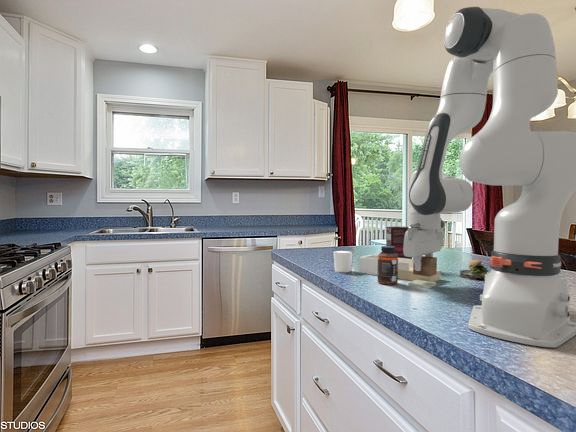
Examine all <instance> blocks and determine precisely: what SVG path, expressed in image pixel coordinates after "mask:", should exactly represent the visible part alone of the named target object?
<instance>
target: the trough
mask: <svg viewBox="0 0 576 432" xmlns="http://www.w3.org/2000/svg"><path fill="white" fill-rule="evenodd" d="M358 260H359V261H358V269H359V270H358V273H359V274H365V273H366V274H367V275H373V276H378V254H369V255H368V254H367V255H362V256H359V259H358ZM441 271H442V270H440V269H437V274H436V275H433V276H430V277H429V276H422V275H416V274H413V258H412V259H405V258H398V278H399V279H398V280H404V281H409V282H411V281H414V280H423V281H429V282H436V283H437V282H438V281H440V280H441V279H442V276H441Z"/></svg>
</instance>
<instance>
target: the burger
mask: <svg viewBox="0 0 576 432" xmlns="http://www.w3.org/2000/svg"><path fill="white" fill-rule="evenodd" d="M471 257H473V256H472V255H471ZM482 263H483V262H482V260H480V259H472V261H470V262H469V264H468V268H469V269H462V270H459V273H460V274H459V277H461V278H462V279H467V280H472V281H477V279H480V280H481V279H483V280H485V275H486V274H487V273H489V272H490V271H489V270H488V269H487V267H485V266H484V265H483V264H482Z"/></svg>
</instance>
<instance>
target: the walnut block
mask: <svg viewBox="0 0 576 432" xmlns="http://www.w3.org/2000/svg"><path fill="white" fill-rule="evenodd" d="M437 262H438V257H435V256H433V257H427V256H425V255H423V256H422V259H421V264H422V265H423V267H422V268H423V269H422V270H421V271H416V270H415V264H414V261H413V274H416V275H422V276H429V277H430V276H433V275H436V274H437V270H438V269H437V267H438V266H437V264H438V263H437Z"/></svg>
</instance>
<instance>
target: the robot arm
mask: <svg viewBox="0 0 576 432" xmlns="http://www.w3.org/2000/svg"><path fill="white" fill-rule="evenodd" d="M443 44H444V49H445V50H446V52H447V53H448V54H450V55H452V56H454V57H453V58H452V59H450V60H449V62H448V64H447V67H446V70H445V72H444V73H445V74H444V77H443V81H442V86H441V90H440V99H439V104H438V108H437V111H436V113H435V115H434V116H433V118H432V119H431V120H430V122H429V124H428V125H427V126H428V127H427V129H426V133H425V137H424V140H423V143H422V148H421V153H420V158H419V161H418V165H417V168H416V170H414V171H413V172H412V174H411V176H410V179H409V186H408V187H409V189H408V200H409V210H408V216H407V217H408V222H407V223H408V230H407V231H406V233H405V237H404V248H403V253H404V256H406V257H412V259H413V261H414V264H415V270H416V271H421V270H422V269H423V268H422V267H423V265H422V264H421V259H422V256H427V257H434V254H435V253H438V252H441V250H442V247H443V240H444V230H443V229H444V228H445V224H446V221H445V220H443V219H442V217H441V214H453V213H456V214H457V213H462V212H464V211H466V210H468V209H469V208H470V207H471V205H472V203H473V201H474V196H475V195H474V194H475V193H474V192H475V191H474V189H473V187H472V185H471V183H469V182H473V183H477V184H482V185H488V186H522V191H521V194H520V197H519V198H518V199H517V200H516V201H515V202H512V203H511V204H509V205H506V206H505V207H503V208H502V209H500V210H499V211H498V212H497V213H496V215H495V218H494V223H493V224H494V231H493V249H492V251H491V253H490V254H491V255H490V258H489V260H490V261H489V268H490V271H488V272H489V273H487V274H486V275H485V279H484V285H483V291H482V293H481V294H480V295H479V297H478V300H479V301H480V302H481V305H473V307H472V309H471V312H470V317H469V320H468V322H467V323H468V325H467V328H468V329H470V330H472V331H473V332H476V333H480V334H482V335H485V336H489V337H493V338H496V339H500V340H501V339H502V340H505V341H510V342H512V343H513V342H514V343H517V344H518V343H519V344H523V345H528V346H529V345H530V346H535V347H536V346H537V347H542V348H552V349H553V348H558V347H560V346H561V345H562V344H564V343H566V342H567V341H569V340H570V339H572V338H573V337H575V336H576V322H574V321H571V319H570V318H571V317H570V310H571V309H570V308H571V305H570V303H571V302H570V298H571V297H570V285H569V284H568V283H567V282H565V280H563V278H561V276H560V273H561V266H562V261H561V255H560V254H559V239H560V230H561V229H560V227H561V221H562V215H563V213H564V210H565V207H566V205H567V203H568V202H569V200H570V199H571V197H572V195H573V194H574V193H575V192H576V132H574V131H567V130H562V131H561V130H560V131H559V130H557V131H556V130H555V131H554V130H553V131H551V130H549V131H533V130H531V125H530V124H531V120H532V118H535V117H536V116H538V115H540V114H541V113H542V114H543V113H544V112H545V111H546V110H548V109H550V108H551V106H552V105H553V104H554V103H555V101H556V99H557V97H558V93H559V92H558V91H559V90H558V89H559V88H558V75H557V73H558V72H557V55H556V48H555V41H554V37H553V33H552V29H551V27H550V23H549V21H548V19H547V18H546V17H545V16H543V15H541V14H539V13H535V12H529V13H523V14H519V13H516V12H513V11H509V10H505V9H501V8H490V7H489V8H488V7H487V8H486V7H485V8H484V7H483V8H482V7H479V6H469V7H463V8H461V9H459V10H457V11H456V12H455V13H454V14H453V15H452V16H451V18H450V20H449V21H448V23H447V25H446V27H445V30H444V34H443ZM491 74H492V79H493V80H492V83H493V85H492V86H493V88H492V89H493V92H492V94H493V95H492V106H491V107H492V108H491V112H490V114H489V117H488V120H486V123H485V124H484V126H482V128H481V129H480V130H479V131H478V132H477V133H476V134H474V135H473V136H471V138H469V139H468V140H467V141H466V142H465V143H464V145H463V146H462V149H461V150H460V151H461V152H460V155H459V158H458V159H459V168H460V170H461V173H462V175H463V176H464V177H465V179H462V178H458V177H455V176H452V175H449V174H446V173H444V172H443V168H444V164H445V161H446V156H447V152H448V147H449V145H450V143H451V142H452V140H453V139H454V138H456V137H457V136H459V135H460V134H461V135H462V134H463V133H466V132H468V131H470V130H471V129H473V128H475V127H476V126H477V125H478V124H479V123H480V122H481V121H482V119H483V116H484V113H485V109H486V105H487V96H488V95H487V94H488V84H489V78H490V77H491ZM467 180H468V181H467Z"/></svg>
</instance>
